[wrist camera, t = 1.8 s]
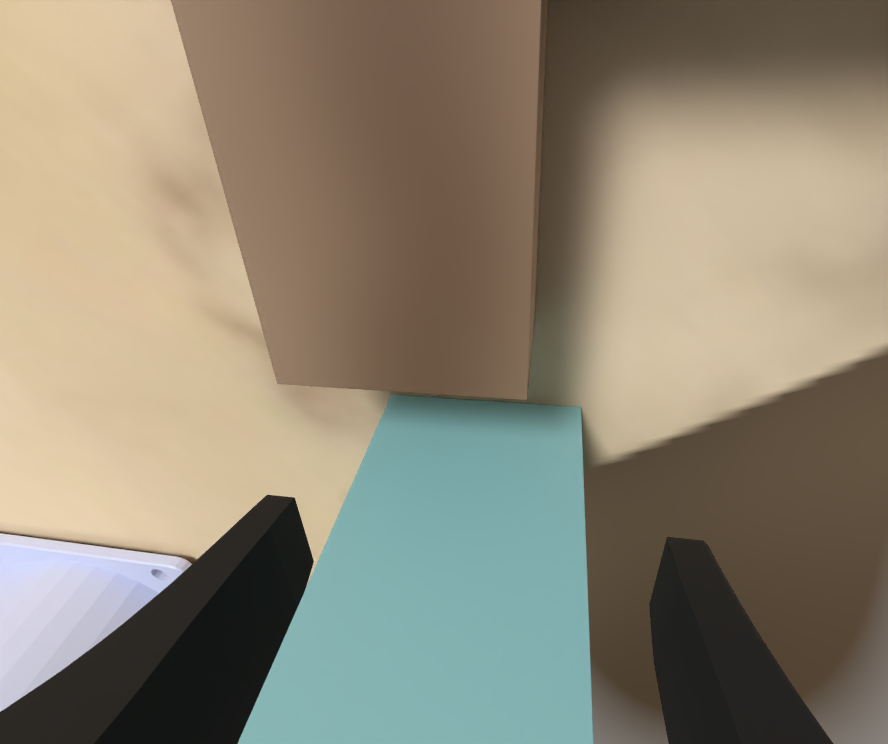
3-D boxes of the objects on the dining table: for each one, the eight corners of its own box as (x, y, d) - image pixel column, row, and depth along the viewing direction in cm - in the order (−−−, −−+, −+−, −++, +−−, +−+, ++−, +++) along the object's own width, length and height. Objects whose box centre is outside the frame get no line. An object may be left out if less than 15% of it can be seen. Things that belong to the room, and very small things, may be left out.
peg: (408, 519, 14) (272, 967, 8) (391, 394, 12) (178, 878, 5) (567, 536, 13) (567, 1049, 7) (580, 407, 11) (602, 986, 5)
